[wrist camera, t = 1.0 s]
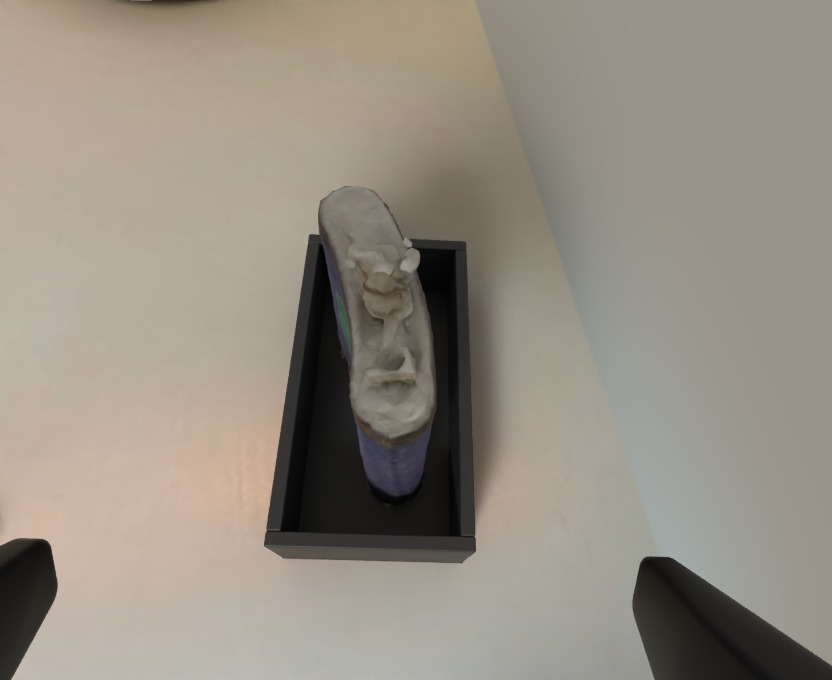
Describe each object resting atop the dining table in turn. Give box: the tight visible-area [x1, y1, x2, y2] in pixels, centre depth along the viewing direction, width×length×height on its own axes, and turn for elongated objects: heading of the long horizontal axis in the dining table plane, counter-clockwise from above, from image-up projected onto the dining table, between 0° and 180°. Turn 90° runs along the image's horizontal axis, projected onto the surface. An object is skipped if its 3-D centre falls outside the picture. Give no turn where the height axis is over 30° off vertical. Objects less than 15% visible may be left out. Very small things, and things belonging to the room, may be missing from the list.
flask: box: [318, 186, 437, 508], centre depth 19 cm, size 9×3×11 cm, turn 13°
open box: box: [264, 234, 476, 563], centre depth 22 cm, size 13×7×4 cm, turn 179°
